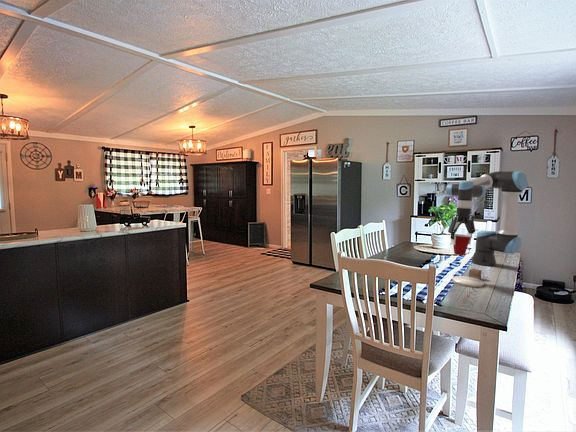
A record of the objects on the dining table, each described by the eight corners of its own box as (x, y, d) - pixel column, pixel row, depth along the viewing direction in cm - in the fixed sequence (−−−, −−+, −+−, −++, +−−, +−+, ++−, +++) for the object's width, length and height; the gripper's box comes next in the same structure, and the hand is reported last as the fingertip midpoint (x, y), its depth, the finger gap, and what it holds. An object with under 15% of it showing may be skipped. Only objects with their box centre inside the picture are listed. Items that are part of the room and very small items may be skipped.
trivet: (466, 277, 207) (467, 275, 207) (490, 285, 192) (490, 283, 192) (446, 279, 202) (446, 277, 202) (468, 288, 187) (468, 285, 187)
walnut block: (472, 276, 210) (472, 268, 210) (480, 278, 206) (481, 270, 206) (468, 277, 207) (469, 269, 206) (477, 279, 203) (478, 271, 203)
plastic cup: (468, 253, 208) (470, 233, 206) (470, 257, 198) (473, 236, 196) (448, 251, 211) (450, 232, 210) (450, 254, 201) (452, 234, 200)
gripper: (474, 206, 208) (470, 242, 211) (443, 206, 201) (440, 243, 204) (484, 208, 201) (480, 244, 204) (453, 208, 194) (449, 246, 197)
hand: (460, 244), depth 204 cm, fingers closed on plastic cup, 11 cm apart
